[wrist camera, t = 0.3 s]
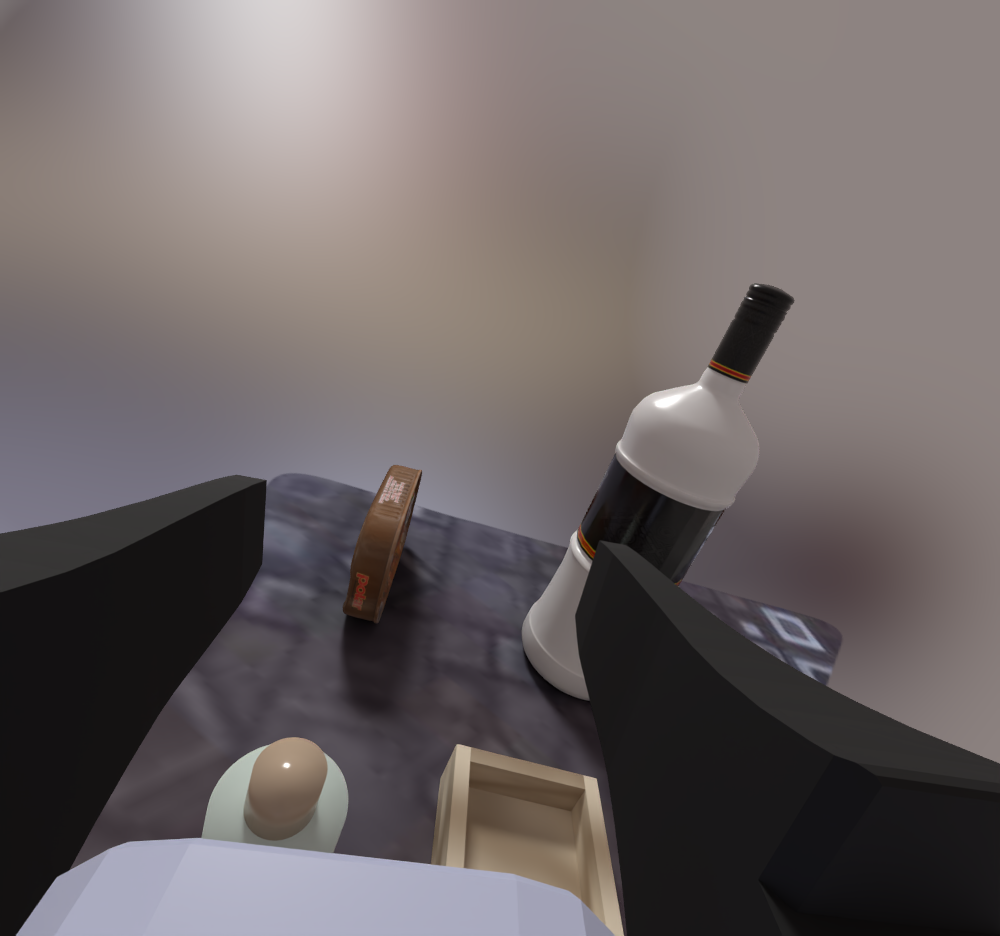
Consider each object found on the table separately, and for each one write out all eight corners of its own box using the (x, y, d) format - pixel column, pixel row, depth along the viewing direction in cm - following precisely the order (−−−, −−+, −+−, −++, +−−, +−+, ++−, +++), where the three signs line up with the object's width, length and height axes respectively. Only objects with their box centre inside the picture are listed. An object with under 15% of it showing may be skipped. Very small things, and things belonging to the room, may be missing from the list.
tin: (370, 649, 35) (402, 551, 32) (324, 637, 35) (353, 536, 32) (408, 533, 49) (433, 457, 46) (375, 523, 49) (399, 445, 45)
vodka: (527, 697, 36) (753, 267, 25) (510, 607, 45) (673, 252, 33) (641, 716, 39) (898, 330, 27) (605, 626, 47) (789, 301, 35)
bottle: (293, 975, 20) (338, 859, 17) (160, 952, 19) (181, 826, 16) (332, 838, 25) (373, 727, 21) (225, 815, 24) (252, 697, 21)
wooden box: (599, 1001, 23) (629, 968, 21) (419, 967, 22) (440, 931, 20) (575, 810, 30) (596, 778, 29) (440, 778, 29) (456, 743, 28)
